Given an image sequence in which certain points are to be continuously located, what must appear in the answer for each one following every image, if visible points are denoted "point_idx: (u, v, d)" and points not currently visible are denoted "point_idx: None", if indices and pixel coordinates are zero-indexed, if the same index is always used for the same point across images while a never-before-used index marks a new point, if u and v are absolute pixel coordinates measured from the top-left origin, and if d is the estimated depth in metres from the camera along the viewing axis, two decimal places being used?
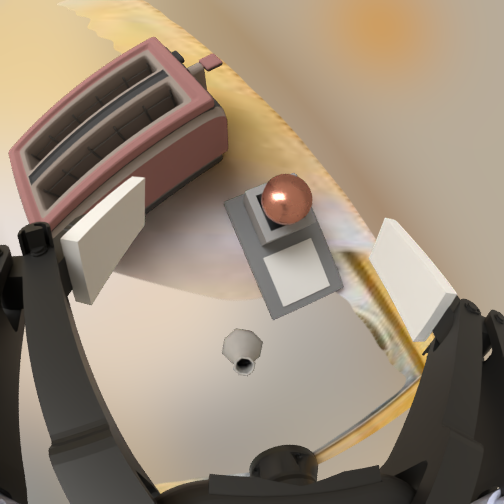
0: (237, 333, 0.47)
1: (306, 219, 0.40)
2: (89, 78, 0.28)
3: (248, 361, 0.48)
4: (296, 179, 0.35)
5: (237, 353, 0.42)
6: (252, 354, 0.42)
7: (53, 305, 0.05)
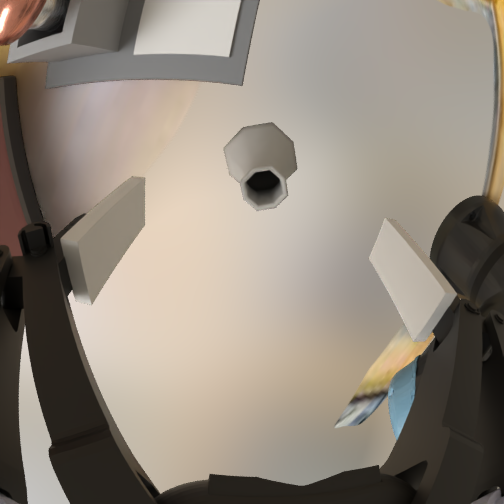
0: (227, 152, 0.25)
1: None
2: None
3: None
4: None
5: None
6: (265, 154, 0.20)
7: (54, 305, 0.05)
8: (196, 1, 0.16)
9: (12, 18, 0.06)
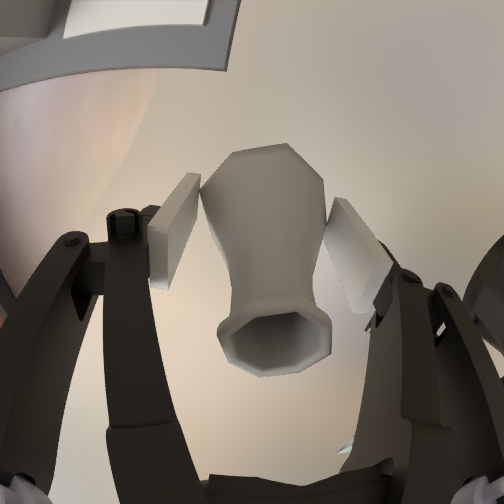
0: (204, 202, 0.14)
1: None
2: None
3: None
4: None
5: None
6: (278, 232, 0.10)
7: (137, 292, 0.06)
8: None
9: None
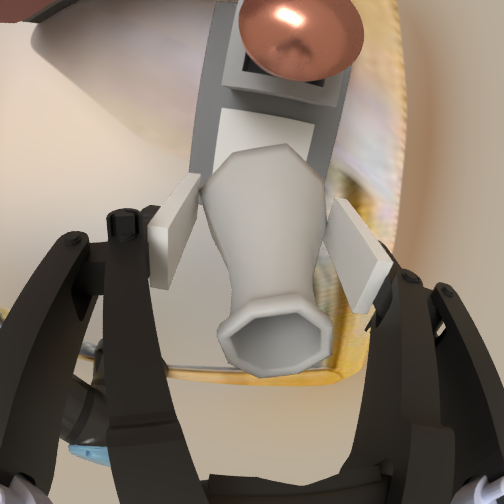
0: (204, 202, 0.14)
1: (320, 91, 0.16)
2: None
3: None
4: (347, 8, 0.09)
5: None
6: (278, 233, 0.09)
7: (137, 292, 0.06)
8: None
9: (259, 48, 0.11)
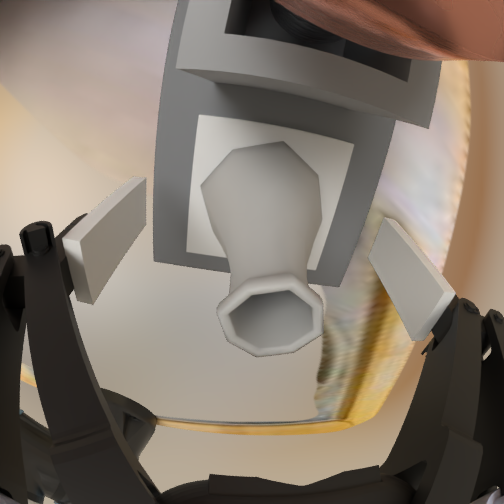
0: (205, 196, 0.14)
1: (402, 91, 0.06)
2: None
3: None
4: None
5: None
6: (274, 222, 0.10)
7: (55, 304, 0.05)
8: None
9: None
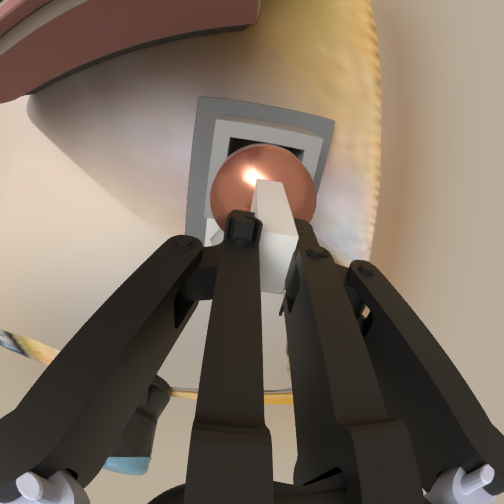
0: None
1: None
2: None
3: None
4: (304, 179, 0.16)
5: None
6: None
7: (248, 298, 0.07)
8: None
9: None
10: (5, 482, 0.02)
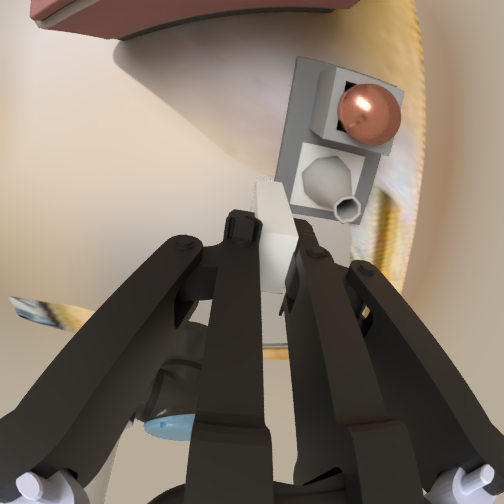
0: (307, 177, 0.34)
1: (380, 146, 0.26)
2: None
3: None
4: (394, 104, 0.22)
5: (328, 199, 0.31)
6: (342, 184, 0.30)
7: (248, 297, 0.07)
8: None
9: (352, 127, 0.23)
10: (5, 482, 0.02)
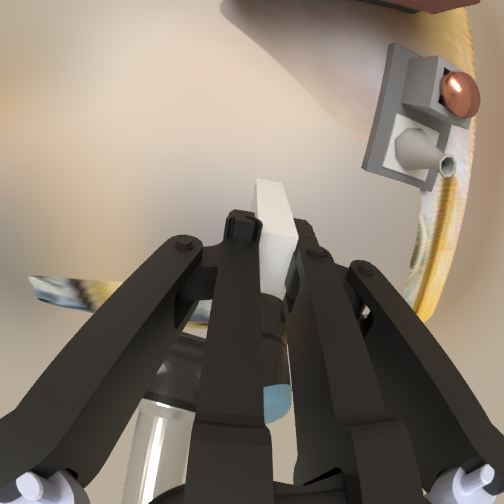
0: (402, 142, 0.34)
1: (464, 120, 0.26)
2: None
3: None
4: (476, 90, 0.21)
5: (427, 159, 0.30)
6: (436, 148, 0.30)
7: (248, 298, 0.07)
8: None
9: (453, 101, 0.23)
10: (5, 482, 0.02)
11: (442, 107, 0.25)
